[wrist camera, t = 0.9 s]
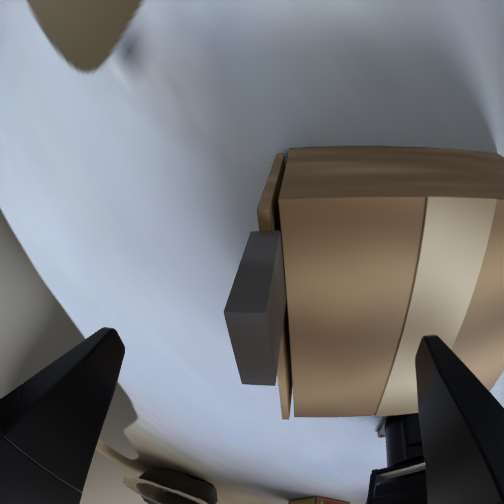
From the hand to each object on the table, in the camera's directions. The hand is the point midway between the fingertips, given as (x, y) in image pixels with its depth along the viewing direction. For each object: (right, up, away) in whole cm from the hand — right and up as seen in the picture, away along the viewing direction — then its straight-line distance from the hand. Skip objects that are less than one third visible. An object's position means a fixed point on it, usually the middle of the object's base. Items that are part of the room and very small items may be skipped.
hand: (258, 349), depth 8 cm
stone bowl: (-17, -49, +48) cm, 71 cm away
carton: (+9, +2, +11) cm, 14 cm away
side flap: (+2, +2, +12) cm, 12 cm away
